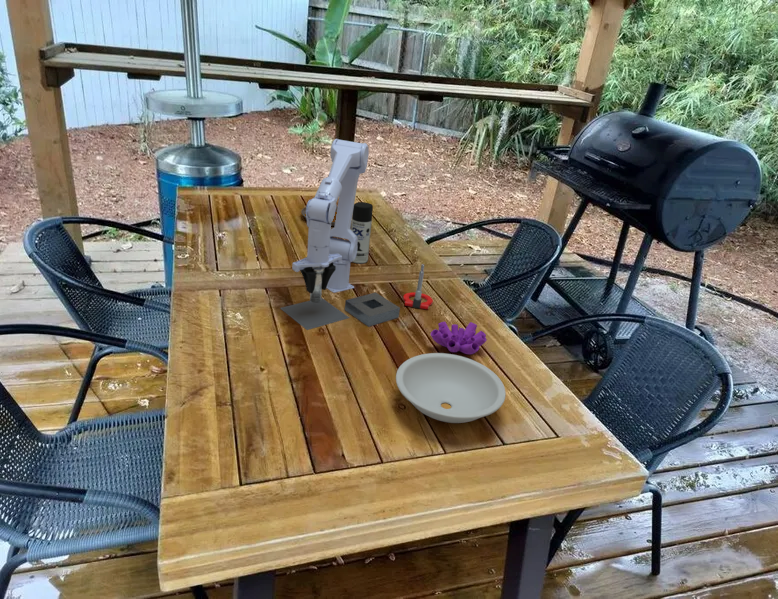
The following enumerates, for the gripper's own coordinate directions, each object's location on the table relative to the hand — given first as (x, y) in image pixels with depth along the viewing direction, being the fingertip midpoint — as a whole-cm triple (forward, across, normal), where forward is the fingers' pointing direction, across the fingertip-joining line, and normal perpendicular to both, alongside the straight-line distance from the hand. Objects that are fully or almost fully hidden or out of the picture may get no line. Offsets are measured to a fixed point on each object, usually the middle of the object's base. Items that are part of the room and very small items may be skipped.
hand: (316, 290), depth 153 cm
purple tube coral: (+8, +22, -34) cm, 41 cm away
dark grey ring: (+8, +49, +66) cm, 82 cm away
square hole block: (+7, +14, -8) cm, 18 cm away
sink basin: (+8, +2, -50) cm, 51 cm away
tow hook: (+8, +32, -8) cm, 34 cm away
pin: (+3, 0, 0) cm, 3 cm away
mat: (+7, 0, 0) cm, 7 cm away
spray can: (+8, +35, +26) cm, 44 cm away
